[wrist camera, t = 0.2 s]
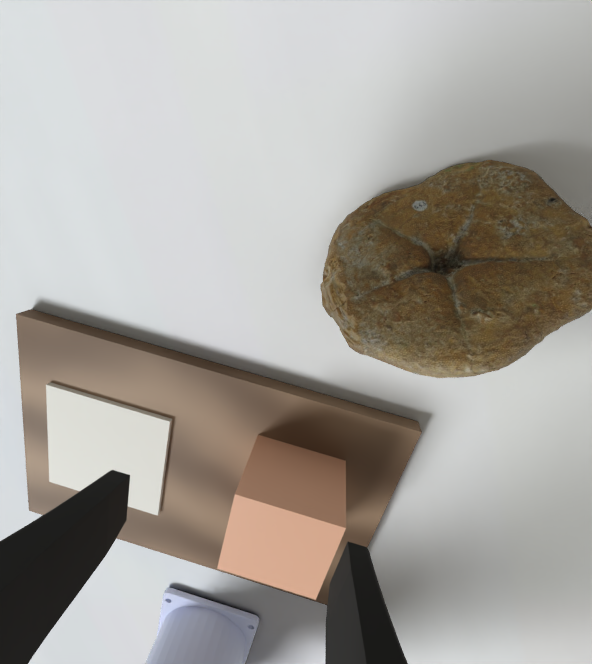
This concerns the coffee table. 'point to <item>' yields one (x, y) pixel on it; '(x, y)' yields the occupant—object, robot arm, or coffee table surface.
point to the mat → (106, 444)
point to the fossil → (459, 270)
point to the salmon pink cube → (286, 517)
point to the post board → (204, 433)
